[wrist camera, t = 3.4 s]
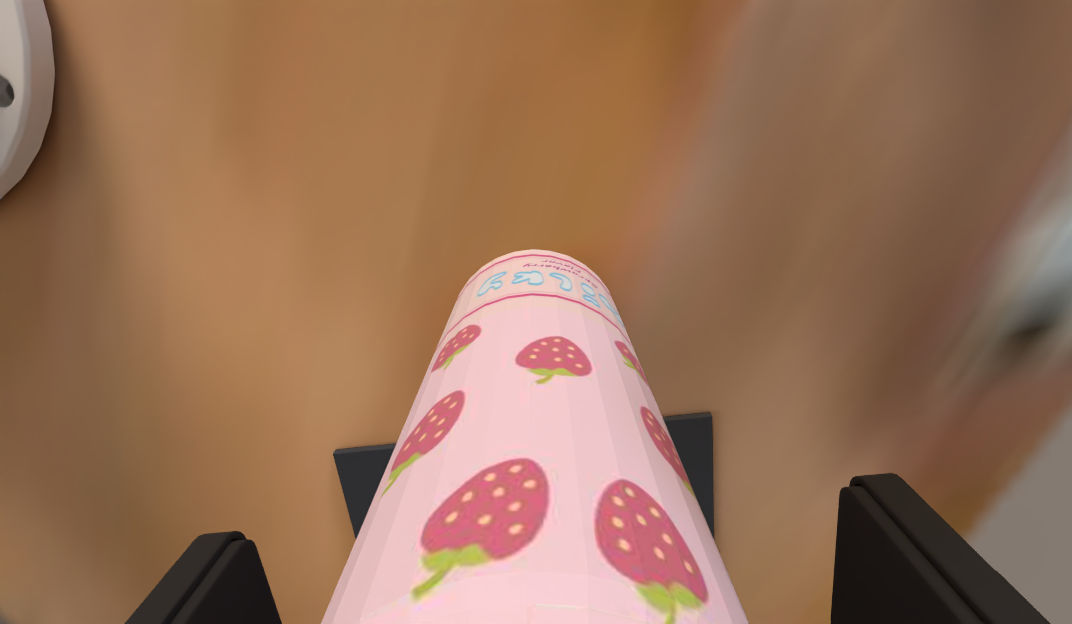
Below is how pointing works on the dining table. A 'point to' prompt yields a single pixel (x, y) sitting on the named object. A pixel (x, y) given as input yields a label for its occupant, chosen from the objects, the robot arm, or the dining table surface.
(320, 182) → the dining table surface
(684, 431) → the mat
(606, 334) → the beverage can
